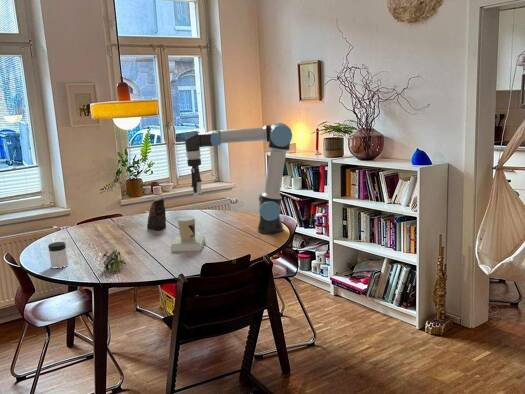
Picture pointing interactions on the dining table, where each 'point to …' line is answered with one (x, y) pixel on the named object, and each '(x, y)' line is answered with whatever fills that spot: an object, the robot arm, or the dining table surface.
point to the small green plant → (117, 263)
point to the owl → (157, 215)
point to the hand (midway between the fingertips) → (197, 195)
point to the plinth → (188, 244)
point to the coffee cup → (187, 228)
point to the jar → (58, 254)
